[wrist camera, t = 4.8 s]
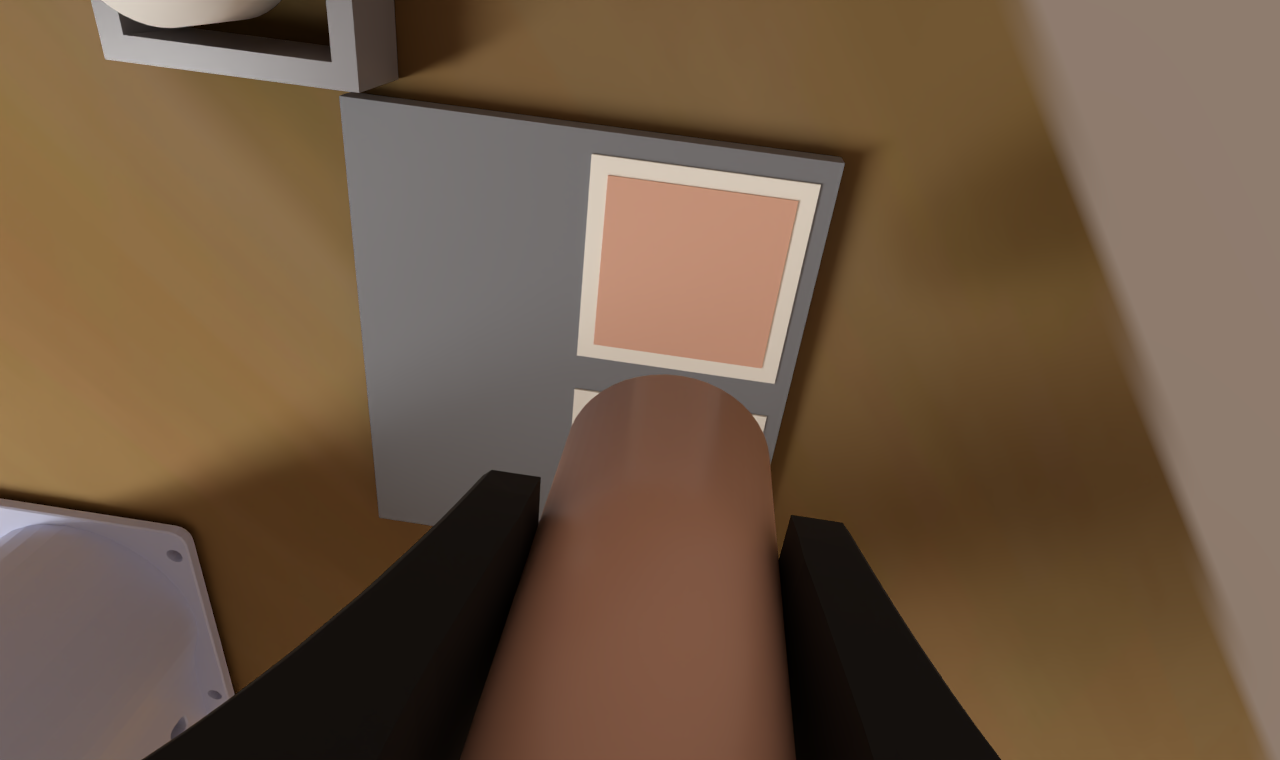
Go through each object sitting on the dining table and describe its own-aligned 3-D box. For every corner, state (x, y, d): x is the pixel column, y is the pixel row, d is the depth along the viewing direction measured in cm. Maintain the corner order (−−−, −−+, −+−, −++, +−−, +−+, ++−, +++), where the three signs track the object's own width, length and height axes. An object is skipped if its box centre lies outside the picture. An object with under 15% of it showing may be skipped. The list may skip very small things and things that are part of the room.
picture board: (743, 559, 22) (743, 575, 21) (387, 504, 22) (377, 519, 22) (841, 157, 16) (845, 164, 15) (351, 91, 16) (337, 96, 16)
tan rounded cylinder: (754, 559, 12) (796, 1458, 5) (554, 528, 12) (299, 1361, 5) (797, 386, 10) (966, 1370, 3) (565, 352, 10) (204, 1223, 3)
